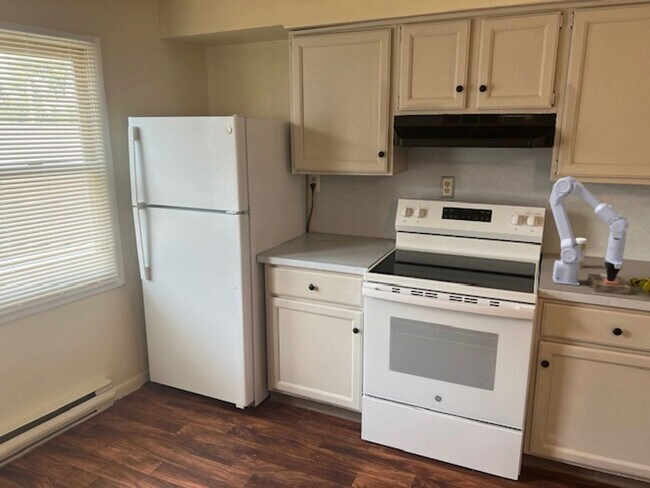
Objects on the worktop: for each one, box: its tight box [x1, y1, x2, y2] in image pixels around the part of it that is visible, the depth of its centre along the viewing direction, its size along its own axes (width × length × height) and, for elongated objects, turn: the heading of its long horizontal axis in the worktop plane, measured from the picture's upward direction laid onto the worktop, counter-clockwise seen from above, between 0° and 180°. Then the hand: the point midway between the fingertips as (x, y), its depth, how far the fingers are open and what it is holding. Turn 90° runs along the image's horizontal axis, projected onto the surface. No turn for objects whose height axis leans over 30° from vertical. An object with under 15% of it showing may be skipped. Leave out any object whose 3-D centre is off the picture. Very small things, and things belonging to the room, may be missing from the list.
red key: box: [603, 279, 617, 285], centre depth 194 cm, size 4×4×2 cm
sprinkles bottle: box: [575, 237, 588, 269], centre depth 224 cm, size 5×5×13 cm
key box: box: [587, 273, 631, 296], centre depth 197 cm, size 12×15×3 cm
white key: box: [599, 273, 607, 279], centre depth 201 cm, size 4×4×2 cm
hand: (610, 280), depth 194 cm, fingers closed, pressing on red key
